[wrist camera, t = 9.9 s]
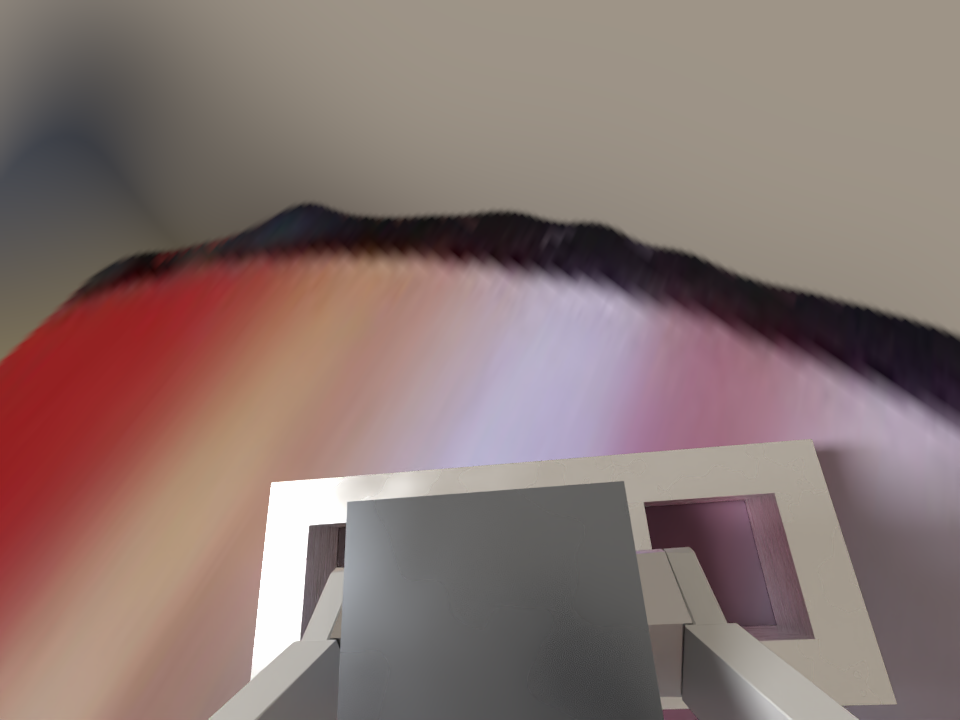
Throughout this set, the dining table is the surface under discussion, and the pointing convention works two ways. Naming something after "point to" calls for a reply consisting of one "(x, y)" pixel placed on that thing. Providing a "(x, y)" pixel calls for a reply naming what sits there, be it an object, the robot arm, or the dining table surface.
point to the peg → (495, 608)
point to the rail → (648, 482)
